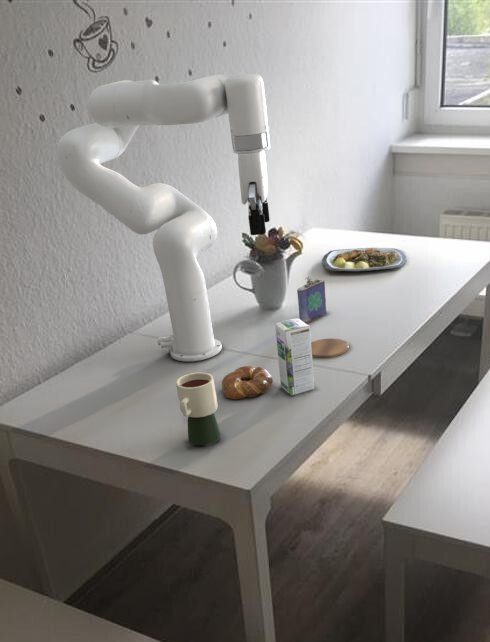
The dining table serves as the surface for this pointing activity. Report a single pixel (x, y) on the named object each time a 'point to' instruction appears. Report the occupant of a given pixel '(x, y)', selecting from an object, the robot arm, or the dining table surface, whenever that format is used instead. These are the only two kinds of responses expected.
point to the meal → (363, 259)
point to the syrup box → (294, 356)
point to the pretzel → (246, 382)
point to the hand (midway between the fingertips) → (260, 228)
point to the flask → (312, 300)
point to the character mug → (199, 407)
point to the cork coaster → (328, 348)
